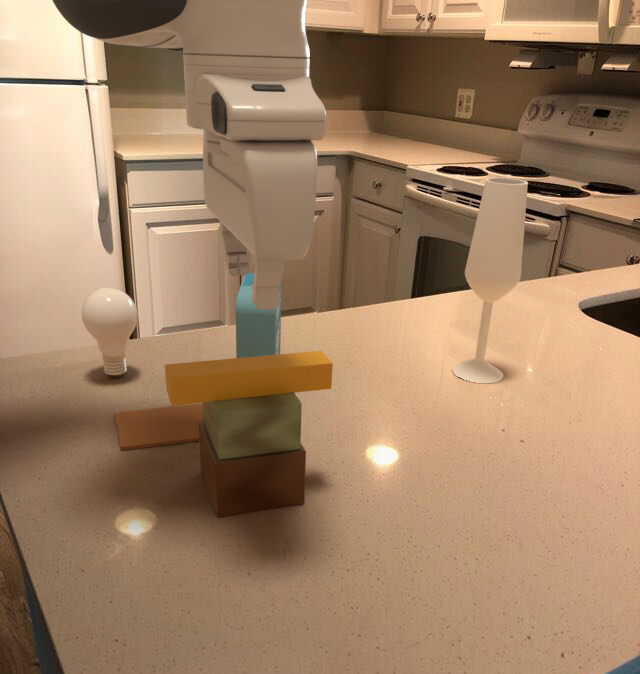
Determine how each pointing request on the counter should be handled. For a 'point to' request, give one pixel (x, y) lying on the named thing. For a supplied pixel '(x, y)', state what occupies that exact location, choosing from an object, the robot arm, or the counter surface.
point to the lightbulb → (110, 325)
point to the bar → (247, 377)
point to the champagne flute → (494, 262)
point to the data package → (256, 324)
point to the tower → (253, 453)
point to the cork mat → (159, 426)
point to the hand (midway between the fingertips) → (250, 289)
